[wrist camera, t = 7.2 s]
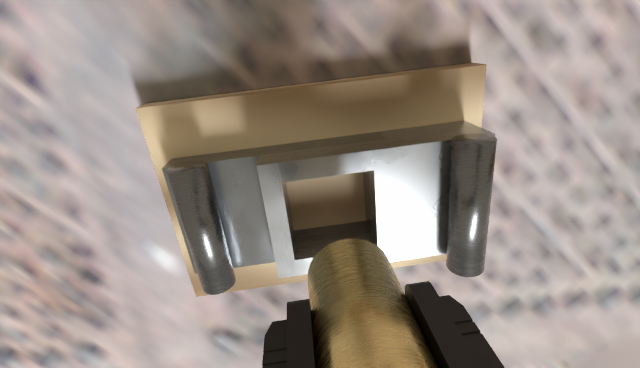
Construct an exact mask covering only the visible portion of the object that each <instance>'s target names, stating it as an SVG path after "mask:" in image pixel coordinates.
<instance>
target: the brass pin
mask: <svg viewBox="0 0 640 368" xmlns="http://www.w3.org/2000/svg"><path fill="white" fill-rule="evenodd" d="M308 288H309V299H310V304H311V311H312V322H313V334H314V345H315V357H316V368H438V366H437V364H436V362H435V359H434V357H433V355H432V353H431V351H430V349H429V346H428V344H427V342H426V340H425V338H424V336H423V333H422V331H421V329H420V327H419V325H418V323H417V320H416V318H415V316H414V314H413V312H412V310H411V307H410V305H409V303H408V301H407V299H406V297H405V294H404V292H403V290H402V288H401V286H400V284H399V282H398V279H397V277H396V275H395V273H394V271H393V269H392V266H391V264H390V262H389V260H388V258H387V256H386V254H385V253H384V251H383V250H382V249H381V248H380V247H378V246H377V245H375V244H374V243H372V242H369V241H366V240H363V239H352V238H351V239H343V240H339V241H336V242H333V243H331V244H329V245H327V246H326V247H324V248H323V249H322V250H320V251H319V252H318V253H317V254H316V256H315V257H314V258H313V260H312V261H311V263H310V266H309V269H308Z"/></svg>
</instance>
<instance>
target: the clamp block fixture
mask: <svg viewBox="0 0 640 368" xmlns="http://www.w3.org/2000/svg"><path fill="white" fill-rule="evenodd" d="M485 76H486V64H478V63H467V64H459V65H451V66H443V67H435V68H427V69H419V70H411V71H403V72H395V73H387V74H379V75H371V76H363V77H355V78H347V79H339V80H331V81H323V82H315V83H307V84H298V85H290V86H282V87H274V88H266V89H258V90H250V91H242V92H234V93H226V94H218V95H210V96H202V97H194V98H186V99H178V100H170V101H162V102H154V103H147V104H144V105H142V106H140V107H138V108H135V109H136V112H137V115H138V118H139V121H140V124H141V127H142V130H143V133H144V137H145V140H146V143H147V146H148V149H149V152H150V155H151V158H152V161H153V164H154V167H155V171H156V174H157V177H158V180H159V183H160V186H161V189H162V192H163V195H164V198H165V201H166V205H167V208H168V211H169V214H170V217H171V220H172V223H173V226H174V229H175V232H176V235H177V239H178V242H179V245H180V248H181V251H182V254H183V257H184V260H185V263H186V266H187V270H188V273H189V276H190V279H191V282H192V285H193V288H194V291H195V294H196V297H197V296H204V295H214V294H220V293H225V292H232V291H238V290H245V289H252V288H259V287H266V286H273V285H280V284H286V283H293V282H300V281H307V280H308V269H309V266H310V263H311V261H312V260H313V258H314V257H315V256H316V254H317V253H318V252H319V251H320V250H322V249H323V248H324V247H326V246H327V245H329V244H331V243H333V242H336V241H339V240H343V239H351V238H352V239H363V240H366V241H369V242H372V243H374V244H375V245H377V246H378V247H380V248H381V249H382V250H383V251H384V253H385V254H386V256H387V258H388V260H389V262H390V264H391V266H392V268H396V267H403V266H410V265H417V264H424V263H430V262H437V261H444V260H446V265H447V268H448V269H449V270H450V271H451V272H453V273H455V274H457V275H460V276H464V277H474V276H478V275H480V274H481V273H482V272H483V271H484V264H485V254H486V243H487V233H488V223H489V213H490V203H491V193H492V183H493V173H494V163H495V153H496V142H497V139H496V138H495V134H494V133H492V132H489V131H487V130H485V129H483V128H481V127H482V114H483V102H484V89H485Z"/></svg>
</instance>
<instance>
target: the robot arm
mask: <svg viewBox="0 0 640 368" xmlns="http://www.w3.org/2000/svg"><path fill="white" fill-rule="evenodd" d="M405 297H406V299H407V301H408V303H409V305H410V307H411V310H412V312H413V314H414V316H415V318H416V320H417V323H418V325H419V327H420V329H421V331H422V333H423V336H424V338H425V340H426V342H427V344H428V346H429V349H430V351H431V353H432V355H433V357H434V359H435V362H436V364H437V366H438V368H504V366H503V365H502V363H501V362H500V360H499V359H498V357H497V356H496V354H495V353H494V351H493V350H492V348H491V347H490V345H489V344H488V342H487V341H486V339H485V338H484V336H483V335H482V334H481V333H480V330H479V329H478V327H477V326H476V324H475V323H474V322H473V321H472V318H471V317H470V315H469V314H468V312H467V311H466V309H465V308H464V306H463V305H461V304H460V303H459V302H457V301H456V300H455V299H453V298H452V297H451V296H449V295H447V296H441V297H439V296H438V294H437V293H436V291H435V289H434V287H433V286H432V284H431V283H430V282H429V281H427V282H420V283H414V284H407V285H406V286H405ZM263 352H264V355H263V363H262V365H263V368H316V357H315V345H314V334H313V322H312V311H311V304H310V299H306V300H299V301H293V302H287V320H282V321H275V322H272V324H271V325H270V327H269V329H268V331H267V333H266V335H265V339H264V351H263Z"/></svg>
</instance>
